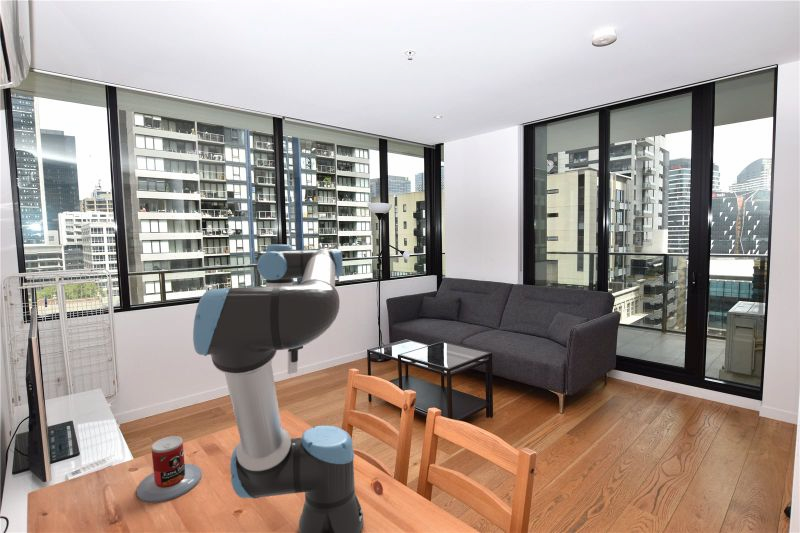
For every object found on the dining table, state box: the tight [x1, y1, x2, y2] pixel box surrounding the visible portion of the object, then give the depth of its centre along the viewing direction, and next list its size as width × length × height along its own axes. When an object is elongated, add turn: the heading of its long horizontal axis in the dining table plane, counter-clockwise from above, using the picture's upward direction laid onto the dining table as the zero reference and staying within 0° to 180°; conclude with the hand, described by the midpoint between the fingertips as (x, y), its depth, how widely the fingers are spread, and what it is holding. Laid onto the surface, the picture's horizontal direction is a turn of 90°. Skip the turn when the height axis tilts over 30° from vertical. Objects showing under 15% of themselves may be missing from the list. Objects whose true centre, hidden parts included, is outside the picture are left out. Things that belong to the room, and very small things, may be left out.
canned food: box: [151, 435, 186, 488], centre depth 117 cm, size 8×8×11 cm
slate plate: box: [136, 463, 202, 503], centre depth 118 cm, size 16×16×1 cm
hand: (279, 368), depth 123 cm, fingers open, 13 cm apart
